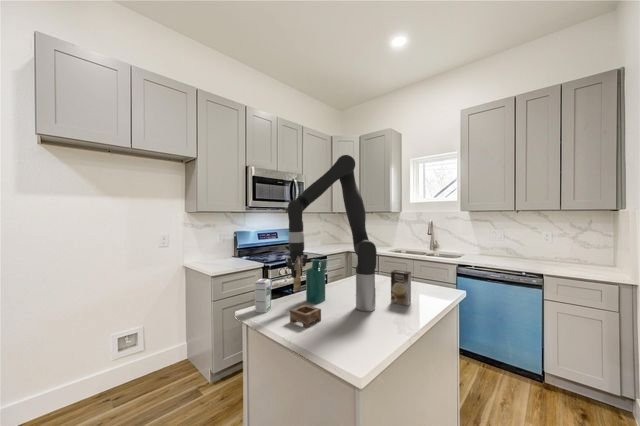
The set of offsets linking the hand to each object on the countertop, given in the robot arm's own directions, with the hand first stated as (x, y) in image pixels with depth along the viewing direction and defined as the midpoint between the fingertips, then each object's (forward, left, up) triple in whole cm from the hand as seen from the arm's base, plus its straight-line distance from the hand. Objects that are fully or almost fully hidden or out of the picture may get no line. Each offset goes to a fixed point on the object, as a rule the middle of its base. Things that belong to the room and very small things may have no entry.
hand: (297, 276), depth 128 cm
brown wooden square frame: (+8, +13, -16) cm, 22 cm away
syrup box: (+11, -12, -16) cm, 23 cm away
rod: (0, 0, -6) cm, 6 cm away
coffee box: (-41, +35, -16) cm, 56 cm away
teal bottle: (-16, -1, -16) cm, 23 cm away
